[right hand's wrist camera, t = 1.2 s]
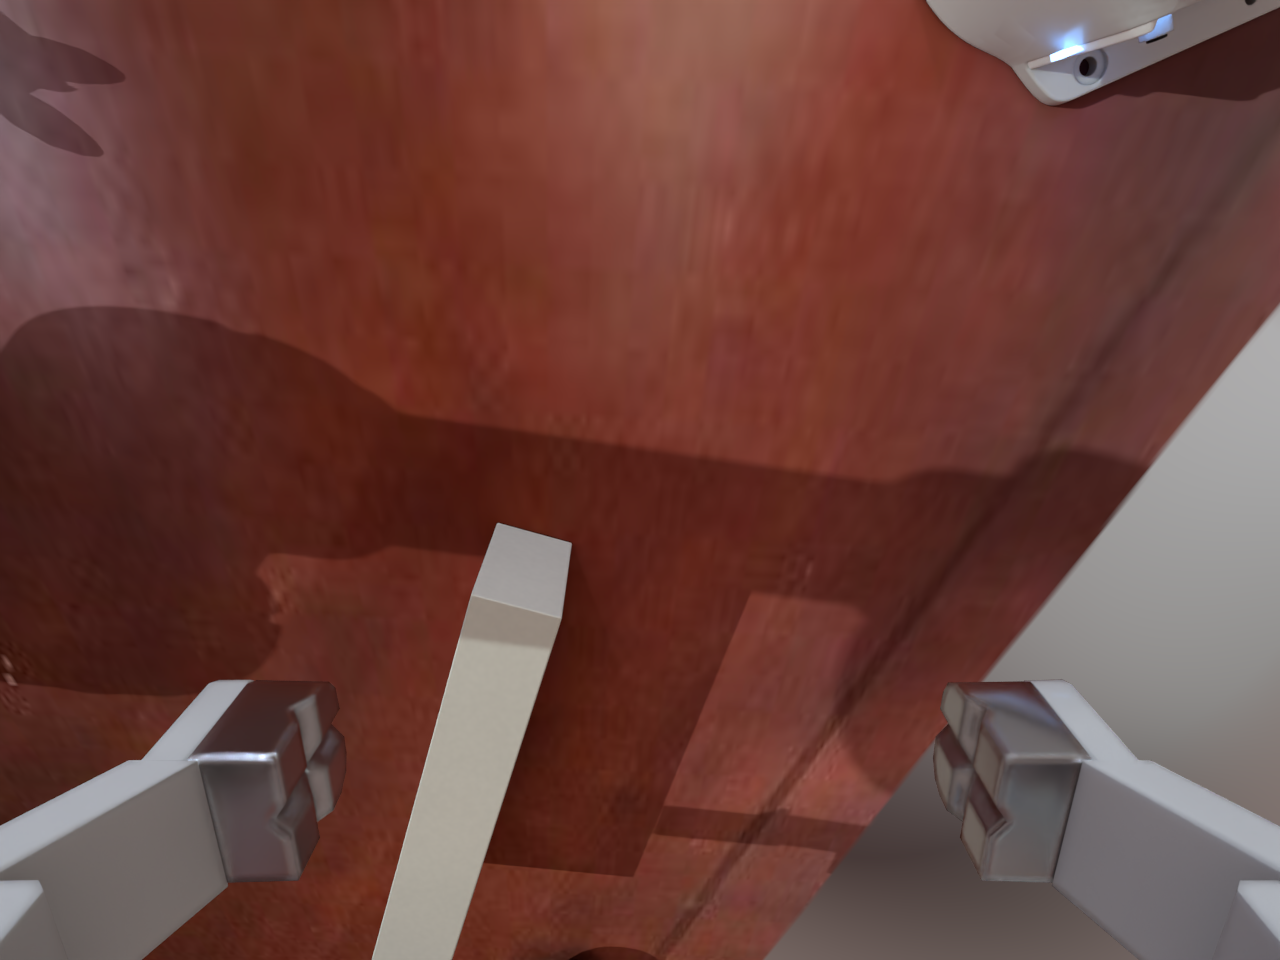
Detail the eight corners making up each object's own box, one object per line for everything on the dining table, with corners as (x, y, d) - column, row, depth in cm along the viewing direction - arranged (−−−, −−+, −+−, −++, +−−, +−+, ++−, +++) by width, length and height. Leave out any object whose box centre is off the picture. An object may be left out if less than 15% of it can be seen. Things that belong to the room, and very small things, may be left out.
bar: (497, 522, 48) (471, 594, 39) (572, 542, 48) (562, 618, 40) (407, 848, 57) (370, 963, 48) (471, 862, 57) (446, 978, 49)
